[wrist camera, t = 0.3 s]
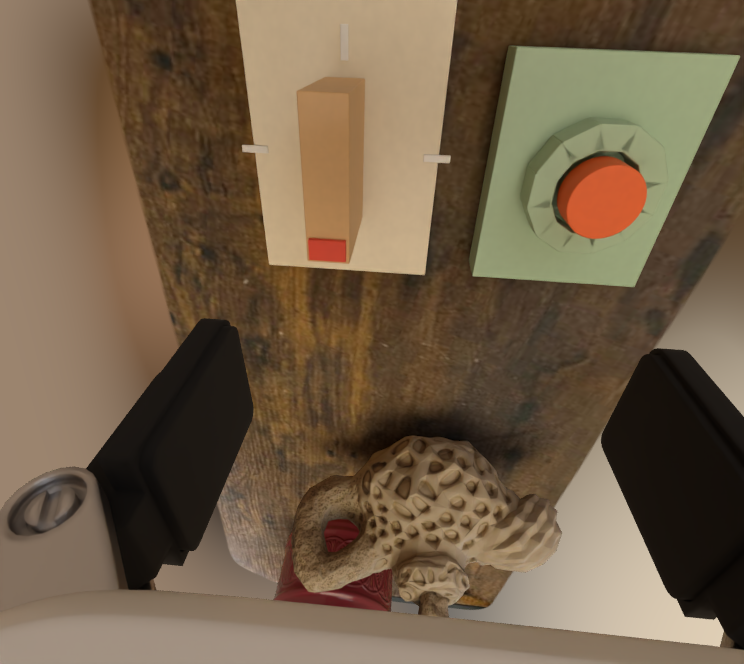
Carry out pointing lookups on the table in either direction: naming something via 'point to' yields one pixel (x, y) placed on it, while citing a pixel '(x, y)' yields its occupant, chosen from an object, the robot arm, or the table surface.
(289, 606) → the robot arm
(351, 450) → the table surface
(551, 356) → the table surface
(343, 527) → the kitchen canister
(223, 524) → the table surface
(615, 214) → the button
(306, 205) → the handle
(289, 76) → the panel
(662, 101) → the button block
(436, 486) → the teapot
